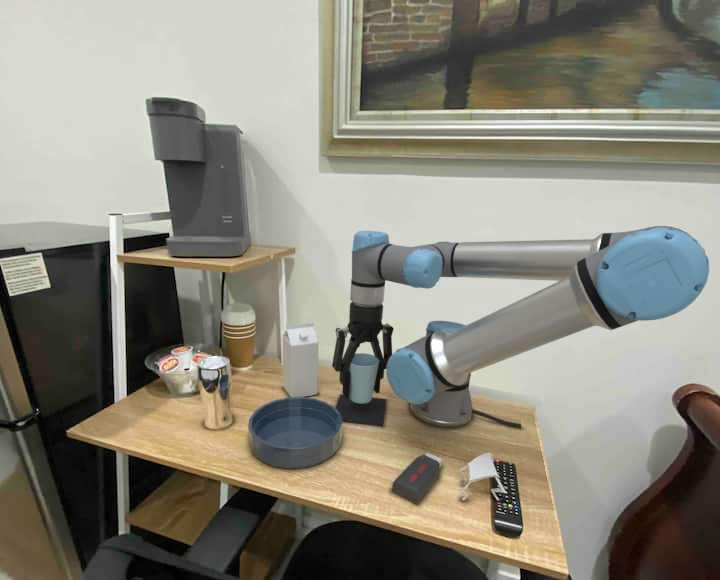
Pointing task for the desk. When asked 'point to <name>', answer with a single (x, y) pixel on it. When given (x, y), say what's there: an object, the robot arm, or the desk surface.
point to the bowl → (295, 432)
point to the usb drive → (418, 478)
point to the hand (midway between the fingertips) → (361, 392)
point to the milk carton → (300, 360)
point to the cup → (362, 377)
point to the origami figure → (481, 472)
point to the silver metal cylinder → (215, 390)
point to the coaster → (362, 411)
